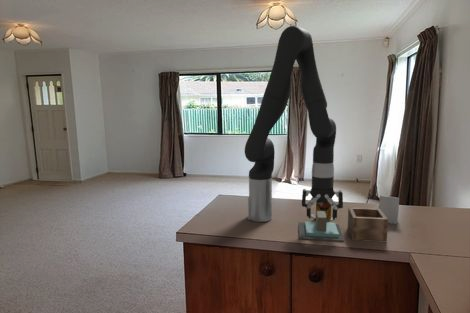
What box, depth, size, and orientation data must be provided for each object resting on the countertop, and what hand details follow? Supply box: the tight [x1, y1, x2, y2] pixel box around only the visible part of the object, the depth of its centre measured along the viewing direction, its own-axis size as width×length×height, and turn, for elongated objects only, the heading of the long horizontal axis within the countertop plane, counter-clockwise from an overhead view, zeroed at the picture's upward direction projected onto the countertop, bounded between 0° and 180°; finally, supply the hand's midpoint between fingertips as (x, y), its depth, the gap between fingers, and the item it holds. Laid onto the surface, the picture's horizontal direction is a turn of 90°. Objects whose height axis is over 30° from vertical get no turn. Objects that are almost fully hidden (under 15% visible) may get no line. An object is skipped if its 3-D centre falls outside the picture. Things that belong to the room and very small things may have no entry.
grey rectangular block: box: [378, 195, 400, 225], centre depth 128 cm, size 4×7×10 cm, turn 59°
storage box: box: [347, 207, 389, 243], centre depth 115 cm, size 11×11×8 cm
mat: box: [298, 221, 345, 243], centre depth 119 cm, size 15×15×1 cm
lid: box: [304, 211, 339, 237], centre depth 119 cm, size 11×11×6 cm
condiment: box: [311, 202, 337, 222], centre depth 133 cm, size 7×8×12 cm
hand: (321, 218), depth 118 cm, fingers open, 8 cm apart
